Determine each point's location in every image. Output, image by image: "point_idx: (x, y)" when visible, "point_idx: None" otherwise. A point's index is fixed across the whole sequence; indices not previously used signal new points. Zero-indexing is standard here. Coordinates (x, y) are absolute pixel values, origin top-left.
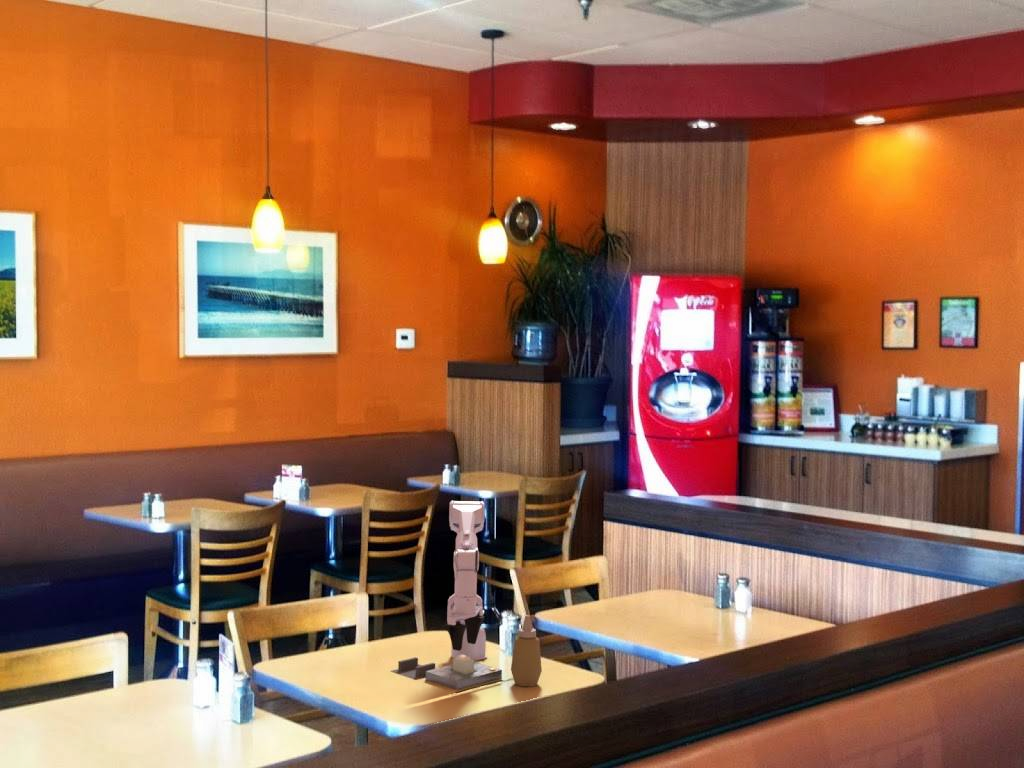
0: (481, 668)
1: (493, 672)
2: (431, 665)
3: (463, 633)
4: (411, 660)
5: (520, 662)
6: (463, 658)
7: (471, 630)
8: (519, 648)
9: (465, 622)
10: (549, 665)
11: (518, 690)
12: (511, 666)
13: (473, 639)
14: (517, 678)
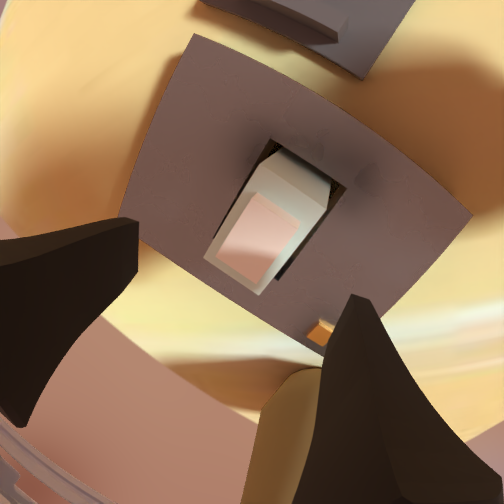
0: (335, 289)
1: (292, 336)
2: (311, 19)
3: (49, 364)
4: None
5: (254, 442)
6: (221, 247)
7: (338, 408)
8: (248, 482)
9: (377, 438)
10: (497, 408)
11: (248, 374)
12: (298, 405)
13: (328, 359)
14: (276, 392)
